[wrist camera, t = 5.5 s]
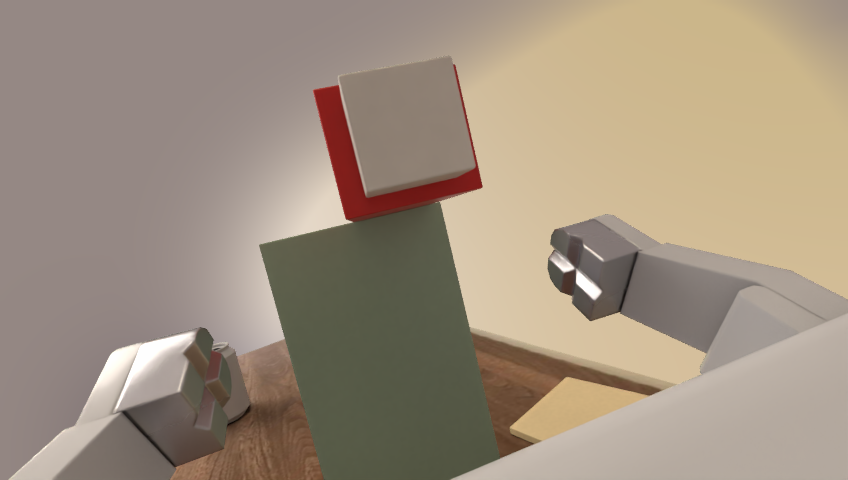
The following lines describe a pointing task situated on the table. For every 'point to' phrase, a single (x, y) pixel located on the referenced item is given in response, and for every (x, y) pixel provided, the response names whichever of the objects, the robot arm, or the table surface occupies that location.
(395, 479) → the stand
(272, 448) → the table surface
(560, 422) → the mat
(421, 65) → the long red beam
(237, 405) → the can
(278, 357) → the table surface
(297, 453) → the table surface
